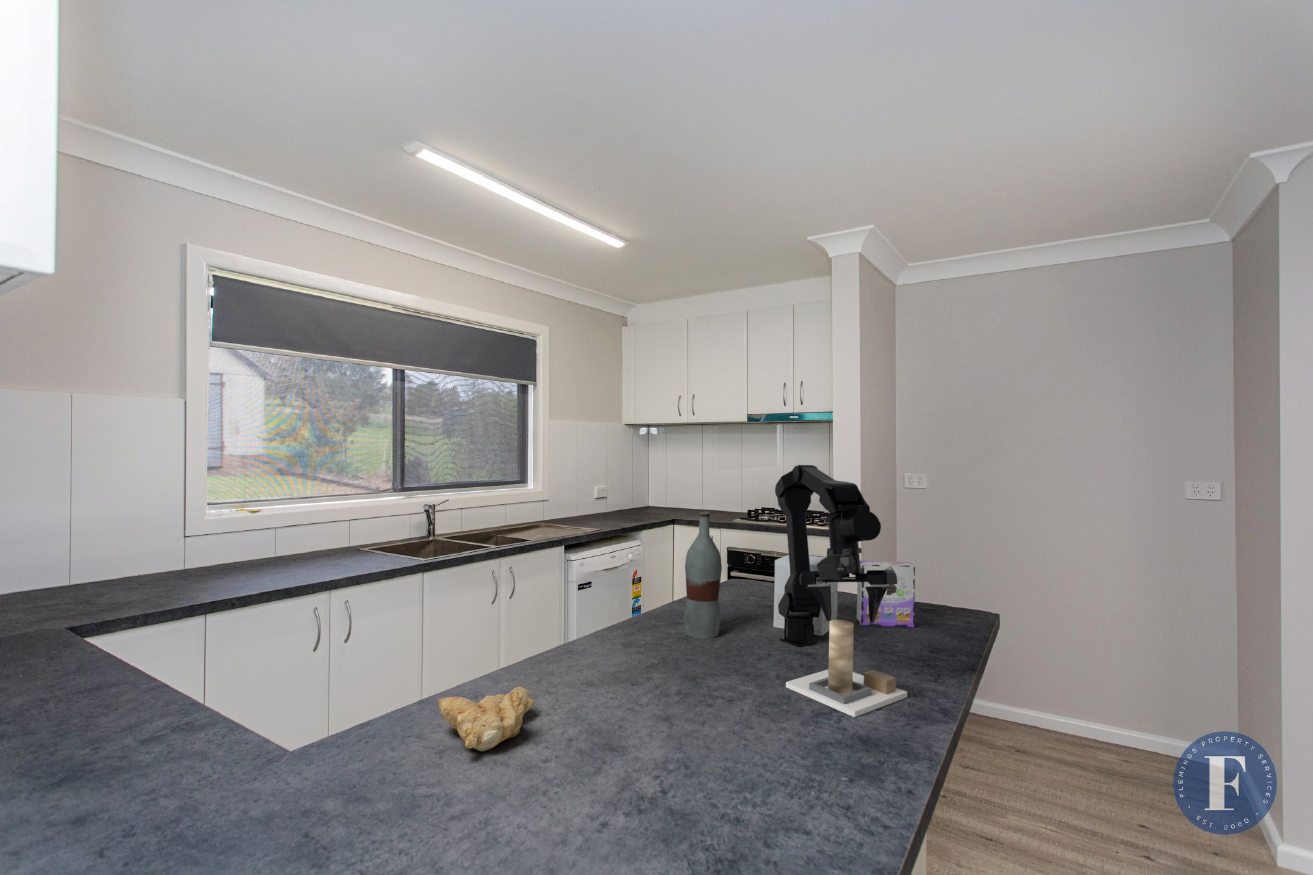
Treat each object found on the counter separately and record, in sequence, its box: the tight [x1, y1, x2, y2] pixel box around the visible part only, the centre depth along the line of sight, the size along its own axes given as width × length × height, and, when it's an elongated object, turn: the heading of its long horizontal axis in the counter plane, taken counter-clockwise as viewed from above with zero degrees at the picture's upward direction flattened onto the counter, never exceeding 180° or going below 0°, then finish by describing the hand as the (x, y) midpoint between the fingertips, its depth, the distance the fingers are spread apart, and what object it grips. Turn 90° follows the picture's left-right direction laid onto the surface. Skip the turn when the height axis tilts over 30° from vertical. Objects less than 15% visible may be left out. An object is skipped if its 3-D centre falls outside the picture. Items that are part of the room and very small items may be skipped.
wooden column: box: [827, 619, 855, 695], centre depth 120 cm, size 4×4×13 cm
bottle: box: [683, 511, 723, 640], centre depth 157 cm, size 9×9×30 cm
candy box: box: [856, 560, 916, 628], centre depth 170 cm, size 14×6×16 cm, turn 84°
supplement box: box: [772, 554, 839, 636], centre depth 166 cm, size 13×13×18 cm
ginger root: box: [437, 686, 536, 752], centre depth 101 cm, size 16×16×8 cm
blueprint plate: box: [785, 669, 908, 718], centre depth 122 cm, size 16×16×4 cm
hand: (850, 621), depth 128 cm, fingers open, 9 cm apart
